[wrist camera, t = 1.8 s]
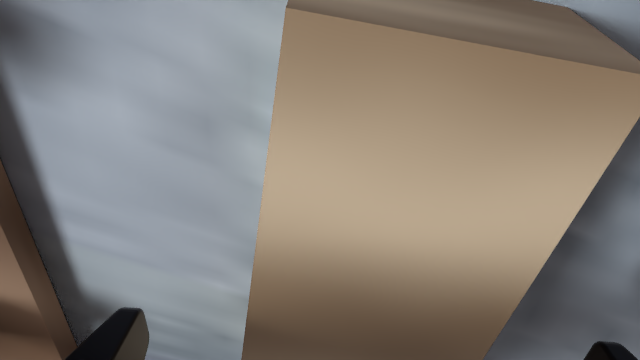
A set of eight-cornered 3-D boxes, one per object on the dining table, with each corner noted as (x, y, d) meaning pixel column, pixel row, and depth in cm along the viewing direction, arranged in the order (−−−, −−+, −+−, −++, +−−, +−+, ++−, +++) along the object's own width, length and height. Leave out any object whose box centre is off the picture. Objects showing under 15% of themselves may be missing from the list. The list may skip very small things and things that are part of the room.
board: (396, 359, 16) (408, 474, 13) (250, 338, 16) (229, 451, 13) (561, 2, 9) (664, 78, 6) (305, -48, 9) (286, 8, 6)
